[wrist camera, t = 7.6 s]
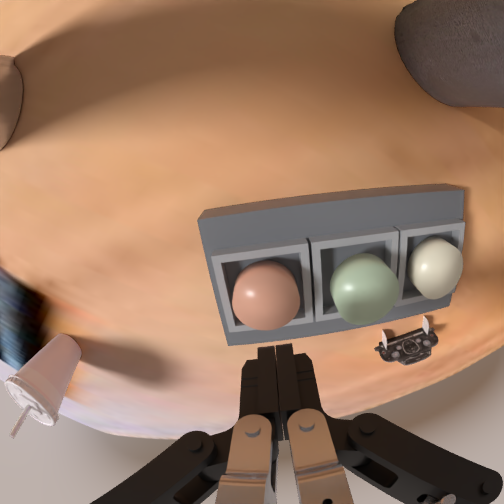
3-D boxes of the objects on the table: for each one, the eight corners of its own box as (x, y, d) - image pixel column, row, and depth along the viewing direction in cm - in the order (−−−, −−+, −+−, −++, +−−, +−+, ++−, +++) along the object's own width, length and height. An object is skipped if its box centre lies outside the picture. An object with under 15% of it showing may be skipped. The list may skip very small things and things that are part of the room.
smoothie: (101, 359, 26) (48, 460, 13) (75, 371, 27) (27, 456, 14) (61, 315, 24) (-11, 409, 11) (40, 333, 25) (-20, 413, 12)
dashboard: (432, 293, 22) (455, 319, 18) (425, 343, 25) (443, 370, 21) (281, 336, 24) (284, 372, 20) (293, 382, 26) (297, 416, 22)
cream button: (409, 239, 17) (422, 250, 15) (452, 233, 16) (466, 242, 15) (404, 291, 18) (415, 304, 16) (446, 281, 18) (457, 293, 16)
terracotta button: (229, 264, 17) (226, 278, 16) (293, 256, 17) (297, 269, 15) (240, 317, 19) (238, 333, 17) (298, 309, 19) (302, 325, 17)
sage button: (328, 258, 16) (336, 271, 14) (389, 249, 16) (402, 261, 14) (330, 313, 18) (336, 330, 16) (385, 303, 17) (395, 318, 16)
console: (204, 210, 19) (193, 224, 16) (445, 183, 18) (472, 193, 15) (230, 326, 23) (227, 354, 20) (436, 291, 22) (454, 312, 18)
